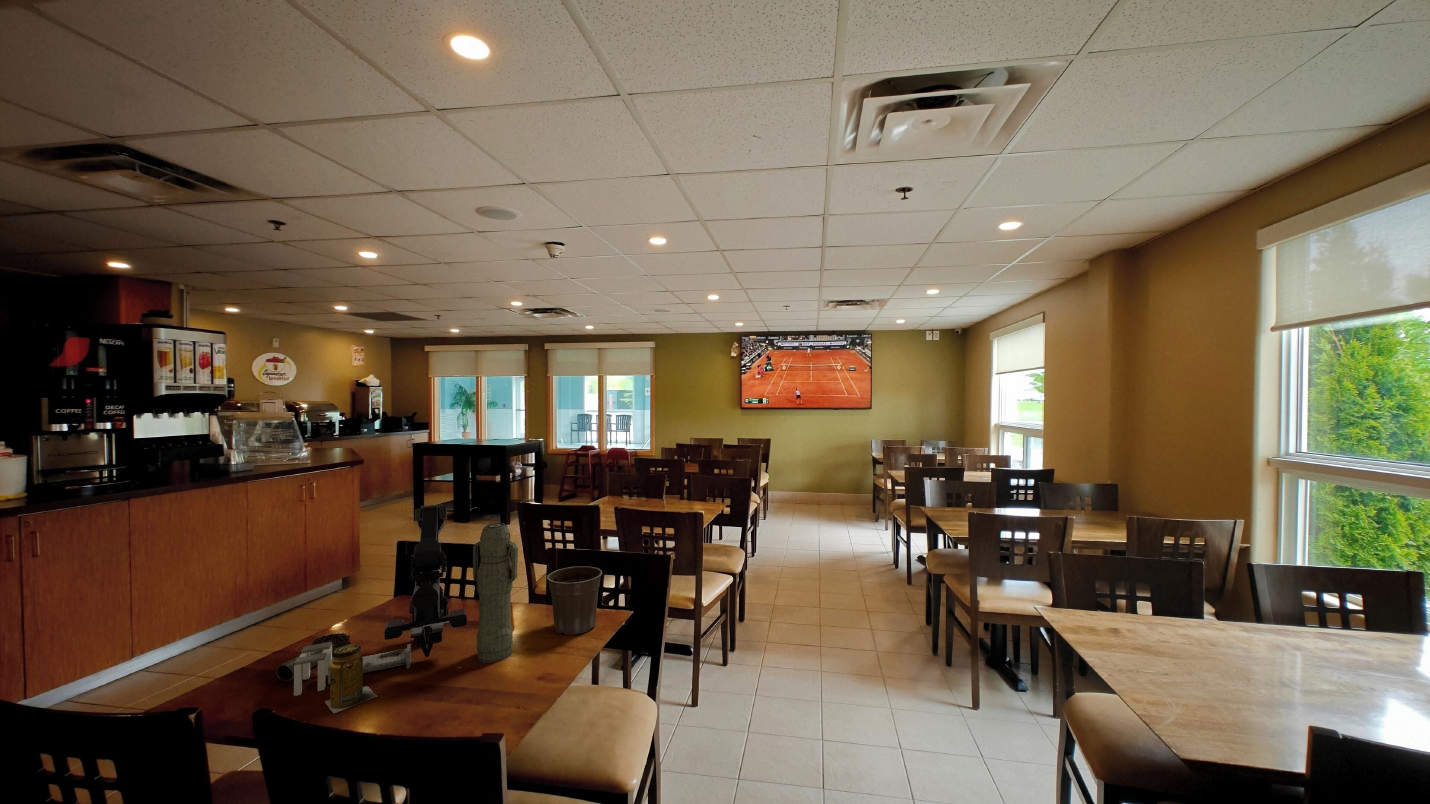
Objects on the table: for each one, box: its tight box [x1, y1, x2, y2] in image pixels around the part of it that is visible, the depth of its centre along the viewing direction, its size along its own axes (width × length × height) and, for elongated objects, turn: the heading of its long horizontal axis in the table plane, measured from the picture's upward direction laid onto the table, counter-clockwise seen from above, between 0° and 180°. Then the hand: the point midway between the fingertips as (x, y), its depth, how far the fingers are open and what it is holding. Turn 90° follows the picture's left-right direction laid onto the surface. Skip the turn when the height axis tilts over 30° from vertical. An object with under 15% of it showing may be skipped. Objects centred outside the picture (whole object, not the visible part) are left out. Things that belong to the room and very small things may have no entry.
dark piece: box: [275, 632, 353, 683], centre depth 134 cm, size 18×7×6 cm, turn 170°
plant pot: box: [546, 565, 603, 636], centre depth 157 cm, size 16×16×16 cm
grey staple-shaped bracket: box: [293, 642, 333, 697], centre depth 124 cm, size 6×10×8 cm, turn 28°
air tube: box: [327, 643, 412, 686], centre depth 130 cm, size 17×4×4 cm, turn 118°
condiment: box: [324, 643, 378, 714], centre depth 118 cm, size 7×8×12 cm
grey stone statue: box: [472, 522, 519, 664], centre depth 139 cm, size 9×12×35 cm
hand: (427, 656), depth 136 cm, fingers closed
